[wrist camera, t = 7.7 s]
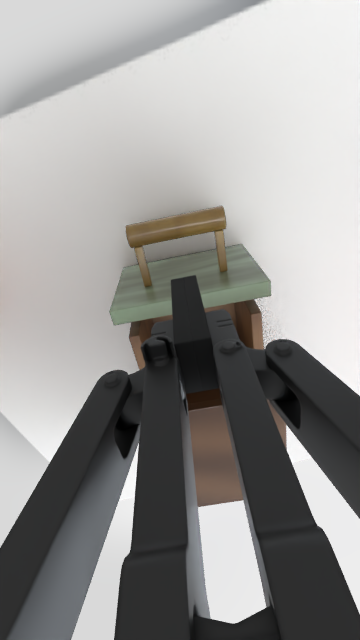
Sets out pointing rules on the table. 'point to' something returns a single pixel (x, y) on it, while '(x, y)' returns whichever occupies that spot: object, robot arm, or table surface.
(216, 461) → the cabinet
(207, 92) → the table surface
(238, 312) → the drawer
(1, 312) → the table surface
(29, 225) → the table surface
